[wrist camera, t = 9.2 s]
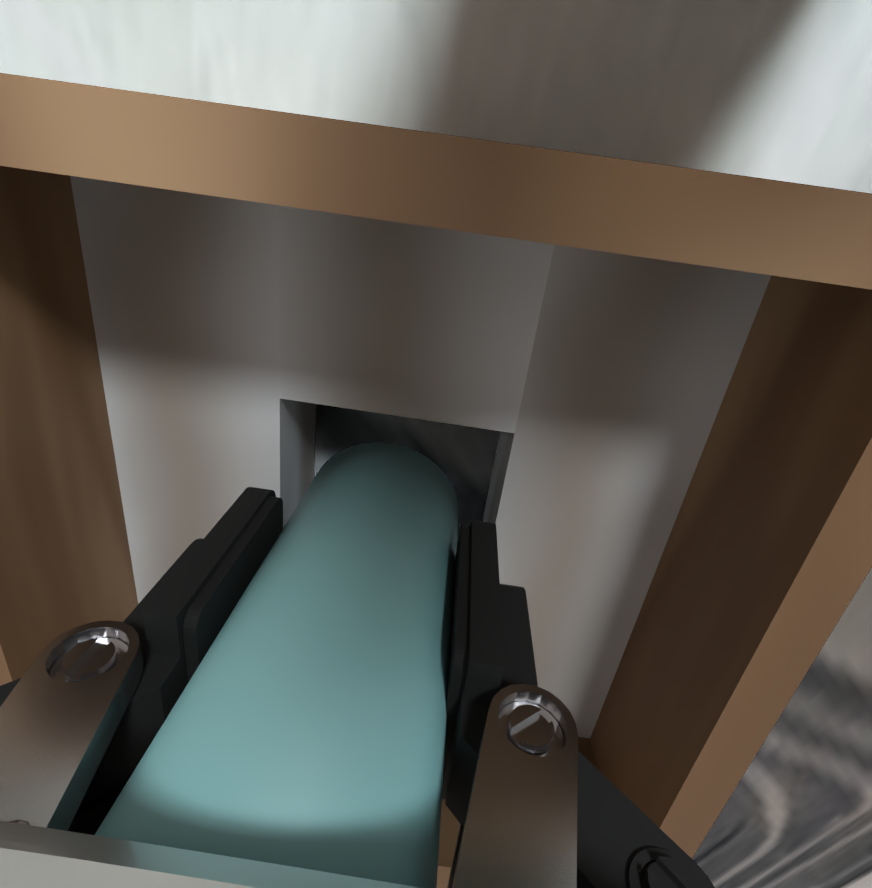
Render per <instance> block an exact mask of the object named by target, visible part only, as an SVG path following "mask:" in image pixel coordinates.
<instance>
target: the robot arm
mask: <svg viewBox="0 0 872 888" xmlns="http://www.w3.org/2000/svg"><path fill="white" fill-rule="evenodd" d="M282 530H283V500H282V498H279V497H276V494H275V491H274V490H269V489H262V488H255V487H247V488H246V489H245V490H244V491H243V493H242V494H241V495H240V496H239V497H238V499H237V500H236V501H235V502H234V503H233V505H232V506H231V507H230V508H229V509H228V510H227V512H226V513H225V514H224V515H223V516H222V518H221V519H220V520H219V521H218V522H217V524H216V525H215V526H214V527H213V528H212V529H211V531H210V532H209V533H208V534H207V535H206V537H205V538H204V539H202V538H199V539H196V540H194V541H193V542H192V543H191V544H190V545H189V546H188V548H187V549H186V550H185V551H184V552H183V553H182V554H181V556H180V557H179V558H178V559H177V560H176V561H175V563H174V564H173V565H172V566H171V567H170V568H169V569H168V571H167V572H166V573H165V574H164V575H163V576H162V577H161V579H160V580H159V581H158V582H157V583H156V584H155V586H154V587H153V588H152V589H151V590H150V591H149V592H148V594H147V595H146V596H145V597H144V598H143V599H142V601H141V602H140V603H139V604H138V605H137V606H136V607H135V609H134V610H133V611H132V612H131V613H130V614H129V616H128V617H127V618H126V619H125V620H124V621H123V622H119V621H112V620H106V621H95V622H91V623H87V624H84V625H80V626H77V627H75V628H73V629H71V630H69V631H66V632H64V633H62V634H61V635H60V636H58V637H57V638H55V639H54V640H52V641H51V642H50V643H49V644H48V645H47V646H46V647H45V648H44V649H43V650H42V651H41V652H40V653H39V655H38V656H37V657H36V659H35V660H34V661H33V663H32V664H31V666H30V667H29V668H28V670H27V671H26V672H25V674H24V675H23V676H22V678H19V679H17V680H14V681H11V682H9V683H6V684H4V685H1V686H0V888H419V887H413V886H407V885H401V884H395V883H389V882H383V881H377V880H371V879H365V878H359V877H353V876H347V875H341V874H335V873H329V872H323V871H317V870H310V869H304V868H298V867H292V866H285V865H279V864H273V863H267V862H261V861H254V860H248V859H242V858H236V857H229V856H223V855H217V854H211V853H204V852H198V851H192V850H185V849H179V848H173V847H167V846H160V845H154V844H148V843H141V842H135V841H129V840H122V839H116V838H109V837H103V836H96V835H95V833H96V832H97V830H98V828H99V827H100V825H101V824H102V822H103V820H104V819H105V817H106V816H107V814H108V812H109V811H110V809H111V807H112V806H113V804H114V803H115V801H116V799H117V798H118V796H119V794H120V793H121V791H122V790H123V788H124V786H125V785H126V783H127V781H128V780H129V778H130V777H131V775H132V773H133V772H134V770H135V768H136V767H137V765H138V764H139V762H140V760H141V759H142V757H143V755H144V754H145V752H146V751H147V749H148V747H149V746H150V744H151V743H152V741H153V739H154V738H155V736H156V734H157V733H158V731H159V730H160V728H161V726H162V725H163V723H164V721H165V720H166V718H167V717H168V715H169V713H170V712H171V710H172V708H173V707H174V705H175V704H176V702H177V700H178V699H179V697H180V695H181V694H182V692H183V691H184V689H185V687H186V686H187V684H188V682H189V681H190V679H191V678H192V676H193V674H194V673H195V671H196V670H197V668H198V666H199V665H200V663H201V661H202V660H203V658H204V657H205V655H206V653H207V652H208V650H209V648H210V647H211V645H212V644H213V642H214V640H215V639H216V637H217V635H218V634H219V632H220V631H221V629H222V627H223V626H224V624H225V622H226V621H227V619H228V618H229V616H230V614H231V613H232V611H233V609H234V608H235V606H236V605H237V603H238V601H239V600H240V598H241V597H242V595H243V593H244V592H245V590H246V588H247V587H248V585H249V584H250V582H251V580H252V579H253V577H254V575H255V574H256V572H257V571H258V569H259V567H260V566H261V564H262V562H263V561H264V559H265V558H266V556H267V554H268V553H269V551H270V549H271V548H272V546H273V545H274V543H275V541H276V540H277V538H278V536H279V535H280V533H281V532H282ZM446 716H447V721H446V738H445V755H444V771H443V788H442V799H445V805H446V806H447V807H448V809H449V810H450V811H451V812H452V814H453V815H454V816H455V818H456V819H457V820H458V822H459V823H460V826H459V831H458V836H457V841H456V846H455V850H454V855H453V860H452V865H451V870H450V874H449V879H448V884H447V888H714V886H713V884H712V883H711V881H710V879H709V878H708V876H707V875H706V874H705V873H704V872H703V871H702V869H701V868H700V867H699V866H698V865H697V864H696V863H695V861H694V860H693V859H692V858H691V857H690V856H688V855H687V854H686V853H685V852H684V851H683V850H682V849H681V848H680V847H679V846H678V845H677V844H676V843H675V842H674V841H673V840H672V839H671V838H669V837H668V836H667V835H666V834H665V833H664V832H663V831H662V830H661V829H660V828H659V827H658V826H657V825H656V824H655V823H654V822H653V821H652V820H651V819H649V818H648V817H647V816H646V815H645V814H644V813H643V812H642V811H641V810H640V809H639V808H638V807H637V806H636V805H635V804H634V803H633V802H632V801H631V800H629V799H628V798H627V797H626V796H625V795H624V794H623V793H622V792H621V791H620V790H619V789H618V788H617V787H616V786H615V785H614V784H613V783H612V782H611V781H609V780H608V779H607V778H606V777H605V776H604V775H603V774H602V773H601V772H600V771H599V770H598V769H597V768H596V767H595V766H594V765H593V764H592V763H591V762H589V761H588V760H587V759H586V758H585V757H584V756H583V755H582V754H581V753H580V752H579V751H578V733H577V727H576V723H575V720H574V718H573V716H572V714H571V712H570V711H569V709H568V708H567V707H566V706H565V705H564V703H563V702H562V701H561V700H560V699H558V698H557V697H556V696H554V695H553V694H552V693H550V692H549V691H547V690H545V689H542V688H540V687H538V683H537V675H536V667H535V659H534V651H533V644H532V636H531V628H530V620H529V613H528V605H527V597H526V591H525V589H524V587H519V586H513V585H506V584H500V581H499V564H498V548H497V531H496V524H495V523H489V522H482V521H476V520H472V521H471V524H470V526H466V525H461V529H460V535H459V540H458V546H457V552H456V557H455V570H454V586H453V602H452V618H451V633H450V649H449V665H448V680H447V696H446Z"/></svg>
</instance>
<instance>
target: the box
mask: <svg viewBox="0 0 872 888" xmlns="http://www.w3.org/2000/svg"><path fill="white" fill-rule="evenodd" d="M316 404H321V405H327V406H334V407H341V408H347V409H354V410H361V411H368V412H374V413H381V414H388V415H394V416H401V417H408V418H414V419H421V420H428V421H434V422H441V423H448V424H454V425H461V426H468V427H475V428H481V429H488V430H495V431H500V435H499V440H498V445H497V450H496V455H495V460H494V465H493V470H492V475H491V480H490V485H489V491H488V496H487V501H486V506H485V511H484V516H483V521H482V522H489V523H495V524H496V531H497V548H498V564H499V581H500V584H506V585H513V586H519V587H524V589H525V591H526V597H527V605H528V613H529V620H530V628H531V636H532V644H533V651H534V659H535V667H536V675H537V683H538V687H540V688H542V689H545V690H547V691H549V692H550V693H552V694H553V695H554V696H556V697H557V698H558V699H560V700H561V701H562V702H563V703H564V705H565V706H566V707H567V708H568V709H569V711H570V712H571V714H572V716H573V718H574V720H575V723H576V727H577V733H578V751H579V752H580V753H581V754H582V755H583V756H584V757H585V758H586V759H587V760H588V761H589V762H591V763H592V764H593V765H594V766H595V767H596V768H597V769H598V770H599V771H600V772H601V773H602V774H603V775H604V776H605V777H606V778H607V779H608V780H609V781H611V782H612V783H613V784H614V785H615V786H616V787H617V788H618V789H619V790H620V791H621V792H622V793H623V794H624V795H625V796H626V797H627V798H628V799H629V800H631V801H632V802H633V803H634V804H635V805H636V806H637V807H638V808H639V809H640V810H641V811H642V812H643V813H644V814H645V815H646V816H647V817H648V818H649V819H651V820H652V821H653V822H654V823H655V824H656V825H657V826H658V827H659V828H660V829H661V830H662V831H663V832H664V833H665V834H666V835H667V836H668V837H669V838H671V839H672V840H673V841H674V842H675V843H676V844H677V845H678V846H679V847H680V848H681V849H682V850H683V851H684V852H685V853H686V854H687V855H688V856H690V857H691V858H692V857H693V856H694V854H695V853H696V851H697V849H698V848H699V846H700V845H701V843H702V841H703V840H704V838H705V836H706V835H707V833H708V832H709V830H710V828H711V827H712V825H713V823H714V822H715V820H716V819H717V817H718V815H719V814H720V812H721V811H722V809H723V807H724V806H725V804H726V802H727V801H728V799H729V798H730V796H731V794H732V793H733V791H734V789H735V788H736V786H737V785H738V783H739V781H740V780H741V778H742V776H743V775H744V773H745V772H746V770H747V768H748V767H749V765H750V764H751V762H752V760H753V759H754V757H755V755H756V754H757V752H758V751H759V749H760V747H761V746H762V744H763V742H764V741H765V739H766V738H767V736H768V734H769V733H770V731H771V730H772V728H773V726H774V725H775V723H776V721H777V720H778V718H779V717H780V715H781V713H782V712H783V710H784V708H785V707H786V705H787V704H788V702H789V700H790V699H791V697H792V695H793V694H794V692H795V691H796V689H797V687H798V686H799V684H800V683H801V681H802V679H803V678H804V676H805V674H806V673H807V671H808V670H809V668H810V666H811V665H812V663H813V661H814V660H815V658H816V657H817V655H818V653H819V652H820V650H821V649H822V647H823V645H824V644H825V642H826V640H827V639H828V637H829V636H830V634H831V632H832V631H833V629H834V627H835V626H836V624H837V623H838V621H839V619H840V618H841V616H842V614H843V613H844V611H845V610H846V608H847V606H848V605H849V603H850V602H851V600H852V598H853V597H854V595H855V593H856V592H857V590H858V589H859V587H860V585H861V584H862V582H863V580H864V579H865V577H866V576H867V574H868V572H869V571H870V569H871V568H872V194H870V193H863V192H856V191H848V190H841V189H834V188H827V187H819V186H812V185H805V184H798V183H791V182H783V181H776V180H769V179H762V178H755V177H747V176H740V175H733V174H726V173H718V172H711V171H704V170H697V169H690V168H682V167H675V166H668V165H661V164H654V163H646V162H639V161H632V160H625V159H617V158H610V157H603V156H596V155H589V154H581V153H574V152H567V151H560V150H553V149H545V148H538V147H531V146H524V145H516V144H509V143H502V142H495V141H488V140H480V139H473V138H466V137H459V136H452V135H444V134H437V133H430V132H423V131H415V130H408V129H401V128H394V127H387V126H379V125H372V124H365V123H358V122H351V121H343V120H336V119H329V118H322V117H314V116H307V115H300V114H293V113H286V112H278V111H271V110H264V109H257V108H250V107H242V106H235V105H228V104H221V103H213V102H206V101H199V100H192V99H185V98H177V97H170V96H163V95H156V94H149V93H141V92H134V91H127V90H120V89H112V88H105V87H98V86H91V85H84V84H76V83H69V82H62V81H55V80H48V79H40V78H33V77H26V76H19V75H11V74H4V73H0V686H1V685H4V684H6V683H9V682H11V681H14V680H17V679H19V678H22V676H23V675H24V674H25V672H26V671H27V670H28V668H29V667H30V666H31V664H32V663H33V661H34V660H35V659H36V657H37V656H38V655H39V653H40V652H41V651H42V650H43V649H44V648H45V647H46V646H47V645H48V644H49V643H50V642H51V641H52V640H54V639H55V638H57V637H58V636H60V635H61V634H62V633H64V632H66V631H69V630H71V629H73V628H75V627H77V626H80V625H84V624H87V623H91V622H95V621H106V620H112V621H119V622H123V621H124V620H125V619H126V618H127V617H128V616H129V614H130V613H131V612H132V611H133V610H134V609H135V607H136V606H137V605H138V604H139V603H140V602H141V601H142V599H143V598H144V597H145V596H146V595H147V594H148V592H149V591H150V590H151V589H152V588H153V587H154V586H155V584H156V583H157V582H158V581H159V580H160V579H161V577H162V576H163V575H164V574H165V573H166V572H167V571H168V569H169V568H170V567H171V566H172V565H173V564H174V563H175V561H176V560H177V559H178V558H179V557H180V556H181V554H182V553H183V552H184V551H185V550H186V549H187V548H188V546H189V545H190V544H191V543H192V542H193V541H194V540H196V539H199V538H202V539H204V538H205V537H206V535H207V534H208V533H209V532H210V531H211V529H212V528H213V527H214V526H215V525H216V524H217V522H218V521H219V520H220V519H221V518H222V516H223V515H224V514H225V513H226V512H227V510H228V509H229V508H230V507H231V506H232V505H233V503H234V502H235V501H236V500H237V499H238V497H239V496H240V495H241V494H242V493H243V491H244V490H245V489H246V488H247V487H255V488H262V489H269V490H274V491H275V494H276V497H279V498H282V500H283V528H284V527H285V525H286V524H287V522H288V520H289V519H290V517H291V515H292V514H293V512H294V511H295V509H296V507H297V506H298V504H299V502H300V501H301V499H302V498H303V496H304V494H305V493H306V491H307V489H308V488H309V486H310V485H311V483H312V481H313V480H314V465H315V430H316ZM457 546H458V545H457ZM459 826H460V823H459V822H458V820H457V819H456V818H455V816H454V815H453V814H452V812H451V811H450V810H449V809H448V807H447V806H446V805H445V799H442V805H441V821H440V838H439V855H438V871H437V888H447V884H448V879H449V874H450V870H451V865H452V860H453V855H454V850H455V846H456V841H457V836H458V831H459Z"/></svg>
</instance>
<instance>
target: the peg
mask: <svg viewBox="0 0 872 888" xmlns="http://www.w3.org/2000/svg"><path fill="white" fill-rule="evenodd" d="M458 521H459V506H458V500H457V496H456V493H455V491H454V488H453V486H452V484H451V482H450V480H449V479H448V478H447V476H446V475H445V473H444V472H443V471H442V470H441V469H440V468H439V467H438V466H437V465H436V464H435V463H434V462H433V461H431V460H430V459H429V458H427V457H426V456H424V455H423V454H421V453H419V452H417V451H415V450H413V449H411V448H408V447H405V446H402V445H397V444H393V443H384V442H370V443H363V444H358V445H355V446H352V447H349V448H347V449H344V450H342V451H340V452H339V453H337V454H336V455H334V456H333V457H331V458H330V459H329V460H328V461H327V462H326V463H325V464H324V465H323V466H322V467H321V469H320V470H319V472H318V473H317V475H316V476H315V478H314V480H313V481H312V483H311V485H310V486H309V488H308V489H307V491H306V493H305V494H304V496H303V498H302V499H301V501H300V502H299V504H298V506H297V507H296V509H295V511H294V512H293V514H292V515H291V517H290V519H289V520H288V522H287V524H286V525H285V527H284V528H283V530H282V532H281V533H280V535H279V536H278V538H277V540H276V541H275V543H274V545H273V546H272V548H271V549H270V551H269V553H268V554H267V556H266V558H265V559H264V561H263V562H262V564H261V566H260V567H259V569H258V571H257V572H256V574H255V575H254V577H253V579H252V580H251V582H250V584H249V585H248V587H247V588H246V590H245V592H244V593H243V595H242V597H241V598H240V600H239V601H238V603H237V605H236V606H235V608H234V609H233V611H232V613H231V614H230V616H229V618H228V619H227V621H226V622H225V624H224V626H223V627H222V629H221V631H220V632H219V634H218V635H217V637H216V639H215V640H214V642H213V644H212V645H211V647H210V648H209V650H208V652H207V653H206V655H205V657H204V658H203V660H202V661H201V663H200V665H199V666H198V668H197V670H196V671H195V673H194V674H193V676H192V678H191V679H190V681H189V682H188V684H187V686H186V687H185V689H184V691H183V692H182V694H181V695H180V697H179V699H178V700H177V702H176V704H175V705H174V707H173V708H172V710H171V712H170V713H169V715H168V717H167V718H166V720H165V721H164V723H163V725H162V726H161V728H160V730H159V731H158V733H157V734H156V736H155V738H154V739H153V741H152V743H151V744H150V746H149V747H148V749H147V751H146V752H145V754H144V755H143V757H142V759H141V760H140V762H139V764H138V765H137V767H136V768H135V770H134V772H133V773H132V775H131V777H130V778H129V780H128V781H127V783H126V785H125V786H124V788H123V790H122V791H121V793H120V794H119V796H118V798H117V799H116V801H115V803H114V804H113V806H112V807H111V809H110V811H109V812H108V814H107V816H106V817H105V819H104V820H103V822H102V824H101V825H100V827H99V828H98V830H97V832H96V833H95V835H96V836H103V837H109V838H116V839H122V840H129V841H135V842H141V843H148V844H154V845H160V846H167V847H173V848H179V849H185V850H192V851H198V852H204V853H211V854H217V855H223V856H229V857H236V858H242V859H248V860H254V861H261V862H267V863H273V864H279V865H285V866H292V867H298V868H304V869H310V870H317V871H323V872H329V873H335V874H341V875H347V876H353V877H359V878H365V879H371V880H377V881H383V882H389V883H395V884H401V885H407V886H413V887H419V888H437V871H438V855H439V838H440V821H441V805H442V788H443V771H444V755H445V738H446V721H447V716H446V696H447V680H448V665H449V649H450V633H451V618H452V602H453V586H454V570H455V557H456V552H457V538H458Z"/></svg>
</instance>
